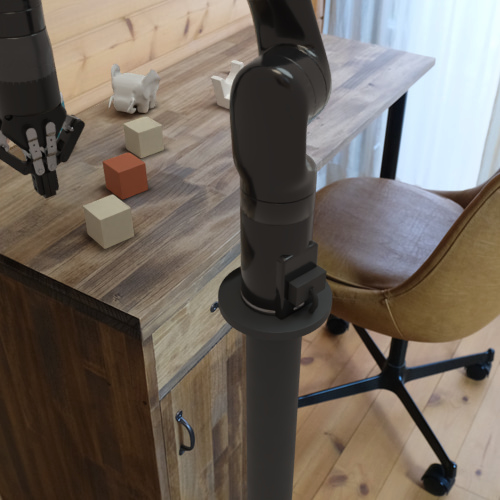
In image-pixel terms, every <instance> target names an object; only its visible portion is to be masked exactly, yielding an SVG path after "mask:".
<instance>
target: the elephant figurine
mask: <svg viewBox="0 0 500 500" xmlns="http://www.w3.org/2000/svg"><path fill="white" fill-rule="evenodd" d="M110 78H111V80H110V81H111V89H112V93H113V94H111V96H110V98H109V101H108V108H110V107H111V104H113V107H114V109H115V110H116V111H118V112H123V113H127V114H131V115H132V114H134V113H136V111H137V112H138V113H143V114H147V113H148V112H149V110H150V109H154V108H155V106H156V101H157V93H158V90H159V88H160V83H161V81H162V78H161V76H160V75H159V73H158V72H157V71H156V70H155V69H153V68H151V69H150V70H149V72H148V73H146V75H145V74H140V73H134V72H133V73H132V72H123V73H122V72H121V67H120V65H119V64H118V63H112V65H111V67H110ZM112 102H113V103H112ZM135 107H136V108H135Z"/></svg>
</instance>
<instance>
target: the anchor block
mask: <svg viewBox="0 0 500 500" xmlns="http://www.w3.org/2000/svg"><path fill="white" fill-rule="evenodd" d="M102 168H103V175H104V180H105V187H106V188H105V189H107V190H108V191H110V192H111V193H112V194H113V195H114V196H116V197H117V198H118V199H120V200H121V201H123V200H125V199H128V198H131V197H134V196H136V195H139V194H141V193H144V192H145V191H148V190H149V184H148V176H147V175H148V174H147V164H146V162H144V161H143V160H142V159H141V158H140V157H138V156H137V155H135V154H133V153H132V152H130V151H128V152H125V153H122V154H119V155H117V156H114V157H111V158H108V159H105V160H102Z"/></svg>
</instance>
